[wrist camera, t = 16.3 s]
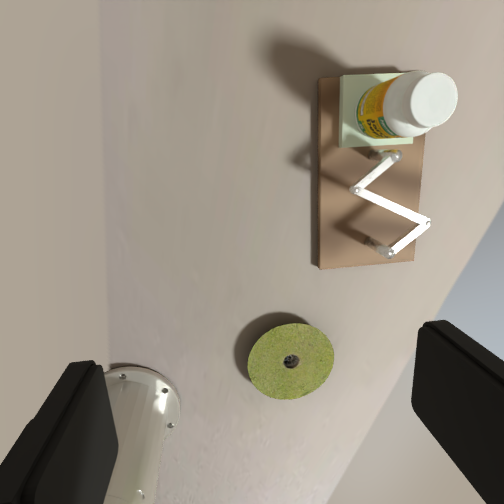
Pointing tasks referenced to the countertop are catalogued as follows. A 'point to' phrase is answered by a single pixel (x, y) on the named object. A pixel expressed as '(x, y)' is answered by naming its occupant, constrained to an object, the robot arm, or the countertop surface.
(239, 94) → the countertop surface
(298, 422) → the countertop surface
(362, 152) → the wire board
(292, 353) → the yellow-green flat disc
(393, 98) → the supplement bottle
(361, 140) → the pad
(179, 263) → the countertop surface
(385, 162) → the bent wire
